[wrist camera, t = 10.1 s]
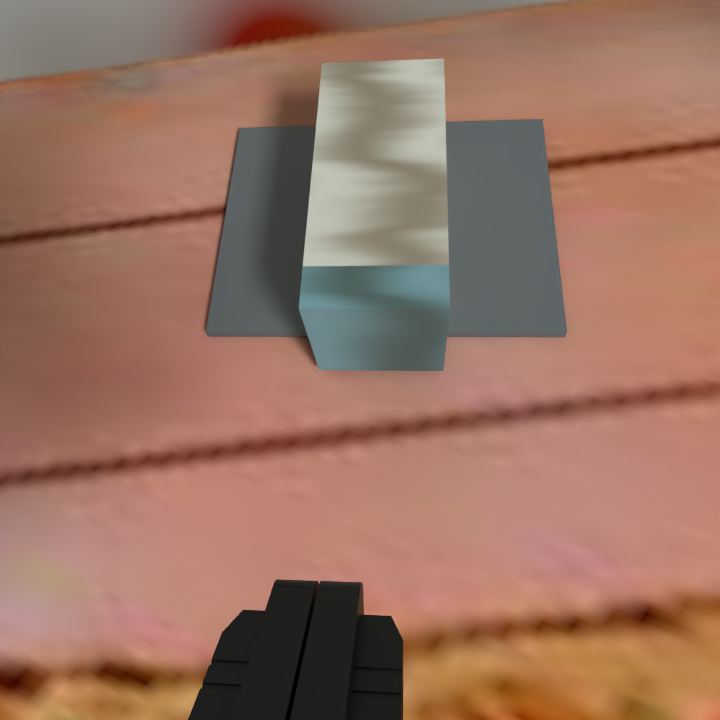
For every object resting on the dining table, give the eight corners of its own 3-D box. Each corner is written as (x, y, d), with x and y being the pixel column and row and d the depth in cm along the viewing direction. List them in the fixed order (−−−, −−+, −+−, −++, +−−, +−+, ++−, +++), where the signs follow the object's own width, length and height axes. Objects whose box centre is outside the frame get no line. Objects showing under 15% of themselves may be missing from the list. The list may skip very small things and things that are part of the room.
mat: (540, 126, 36) (542, 119, 36) (564, 336, 30) (566, 332, 30) (241, 134, 38) (240, 128, 37) (208, 336, 32) (205, 331, 31)
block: (442, 370, 29) (439, 149, 35) (450, 308, 24) (444, 58, 30) (319, 369, 30) (335, 151, 36) (298, 308, 24) (322, 63, 30)
